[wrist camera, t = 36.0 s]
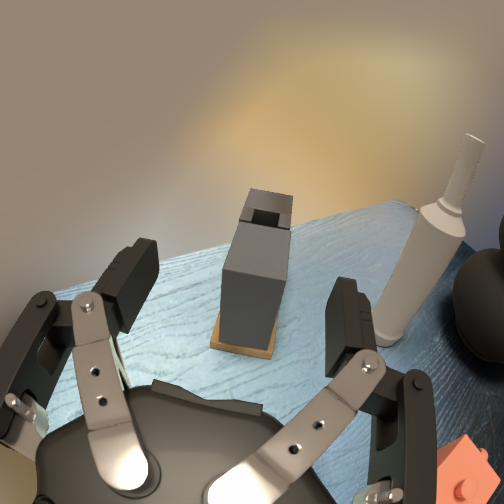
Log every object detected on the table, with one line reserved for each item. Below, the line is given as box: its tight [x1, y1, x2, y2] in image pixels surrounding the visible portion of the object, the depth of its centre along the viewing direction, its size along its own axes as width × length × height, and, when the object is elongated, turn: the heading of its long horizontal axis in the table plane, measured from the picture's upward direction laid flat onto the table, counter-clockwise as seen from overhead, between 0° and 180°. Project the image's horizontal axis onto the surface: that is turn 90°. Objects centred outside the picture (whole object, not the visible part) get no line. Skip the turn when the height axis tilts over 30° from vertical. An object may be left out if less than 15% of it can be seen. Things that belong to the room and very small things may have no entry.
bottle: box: [371, 133, 485, 347], centre depth 26 cm, size 5×5×25 cm
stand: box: [210, 189, 293, 359], centre depth 32 cm, size 6×15×11 cm, turn 171°
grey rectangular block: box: [219, 222, 291, 351], centre depth 29 cm, size 5×9×10 cm, turn 171°
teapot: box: [436, 434, 501, 504], centre depth 13 cm, size 12×15×8 cm
